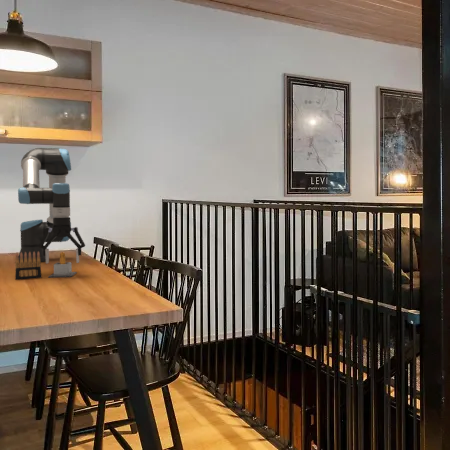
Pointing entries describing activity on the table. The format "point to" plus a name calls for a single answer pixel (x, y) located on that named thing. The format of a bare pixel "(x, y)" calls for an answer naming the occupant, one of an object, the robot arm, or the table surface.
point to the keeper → (62, 261)
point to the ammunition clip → (27, 266)
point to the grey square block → (62, 268)
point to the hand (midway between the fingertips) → (62, 262)
